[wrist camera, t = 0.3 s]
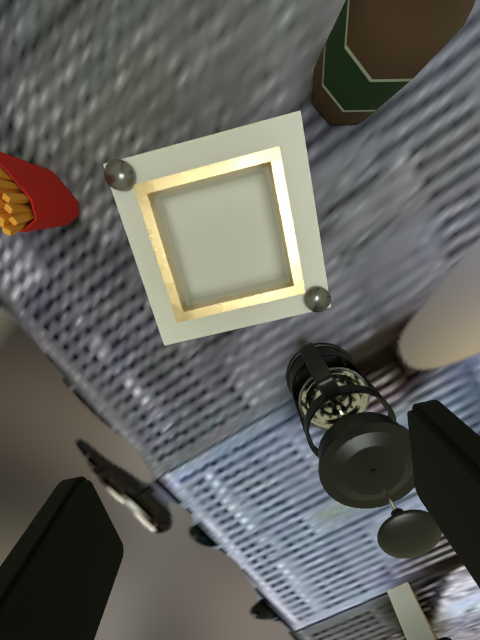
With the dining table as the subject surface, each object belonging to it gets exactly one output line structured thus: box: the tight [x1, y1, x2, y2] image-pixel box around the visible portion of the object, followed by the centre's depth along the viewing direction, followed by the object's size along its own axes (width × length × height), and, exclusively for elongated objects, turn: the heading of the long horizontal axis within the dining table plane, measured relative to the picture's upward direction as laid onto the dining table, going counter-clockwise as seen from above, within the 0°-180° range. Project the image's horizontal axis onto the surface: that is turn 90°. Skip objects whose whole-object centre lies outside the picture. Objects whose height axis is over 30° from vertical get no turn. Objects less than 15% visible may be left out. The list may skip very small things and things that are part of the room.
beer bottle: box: [313, 0, 475, 125], centre depth 20 cm, size 8×8×24 cm
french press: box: [286, 343, 442, 558], centre depth 30 cm, size 12×9×23 cm
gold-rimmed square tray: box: [103, 111, 331, 346], centre depth 33 cm, size 20×20×6 cm
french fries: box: [0, 152, 79, 236], centre depth 29 cm, size 8×4×12 cm, turn 37°
